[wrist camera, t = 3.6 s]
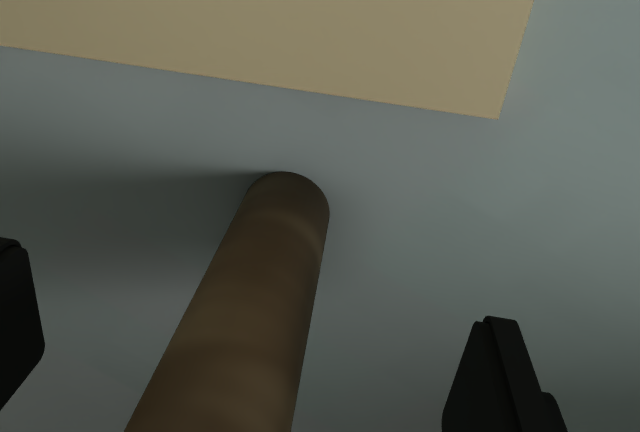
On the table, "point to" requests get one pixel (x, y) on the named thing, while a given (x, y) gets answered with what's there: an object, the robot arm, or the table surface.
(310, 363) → the table surface
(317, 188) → the brown wooden rod
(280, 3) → the shape sorter toy
